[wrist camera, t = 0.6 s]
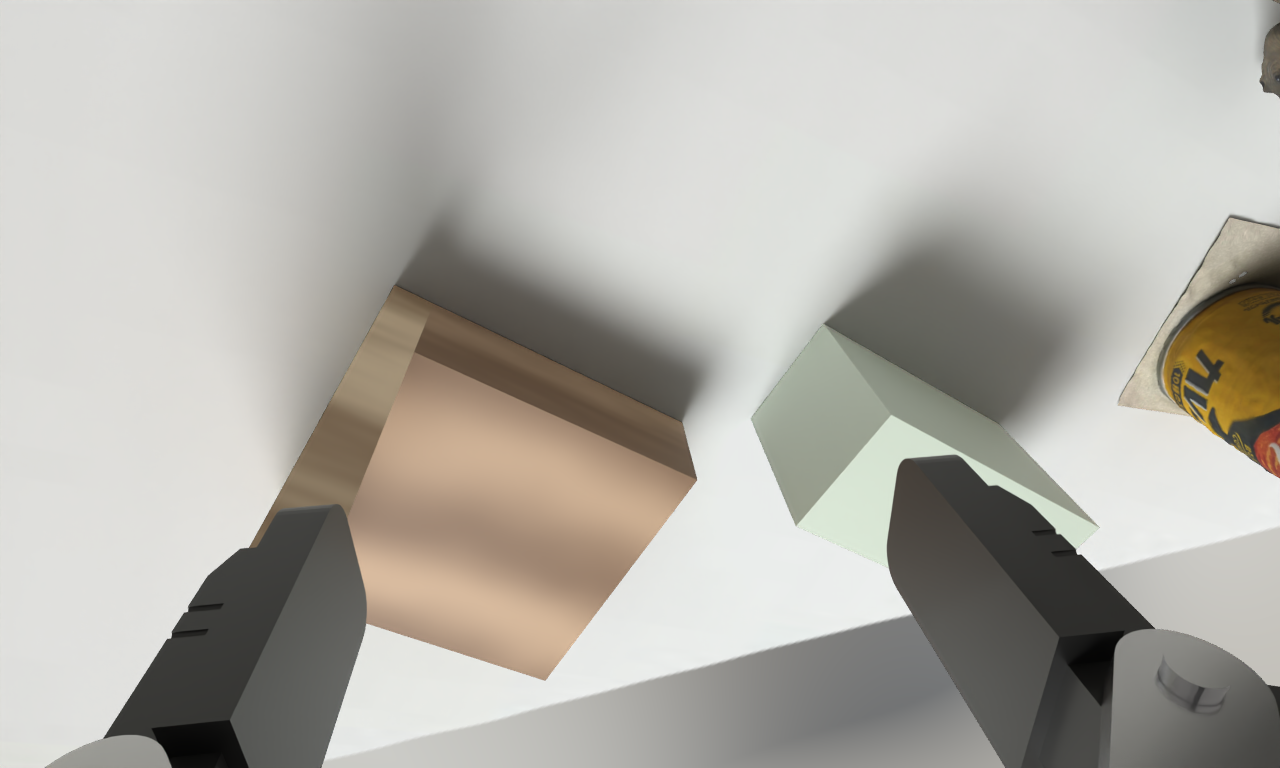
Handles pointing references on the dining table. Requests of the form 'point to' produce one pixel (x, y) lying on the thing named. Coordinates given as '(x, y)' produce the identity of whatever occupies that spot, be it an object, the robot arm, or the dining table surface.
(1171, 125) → the dining table surface
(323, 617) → the robot arm
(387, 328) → the wall board
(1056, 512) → the mint green tall box
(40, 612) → the dining table surface
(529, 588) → the ledge
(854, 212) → the dining table surface
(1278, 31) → the rhino figurine
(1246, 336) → the condiment
